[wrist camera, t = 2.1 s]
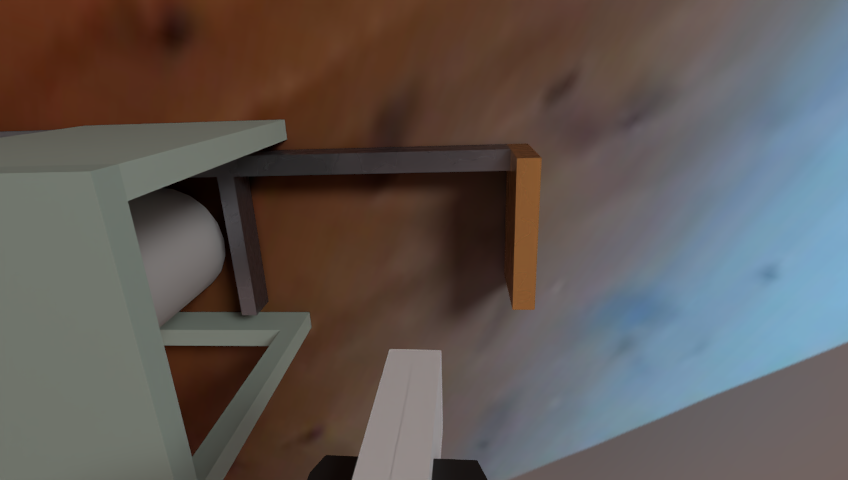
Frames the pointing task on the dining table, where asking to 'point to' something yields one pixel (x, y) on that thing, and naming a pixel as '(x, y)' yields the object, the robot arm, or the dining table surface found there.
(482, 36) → the dining table surface
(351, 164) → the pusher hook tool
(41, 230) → the tunnel
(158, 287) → the can
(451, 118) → the dining table surface
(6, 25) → the dining table surface
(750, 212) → the dining table surface
